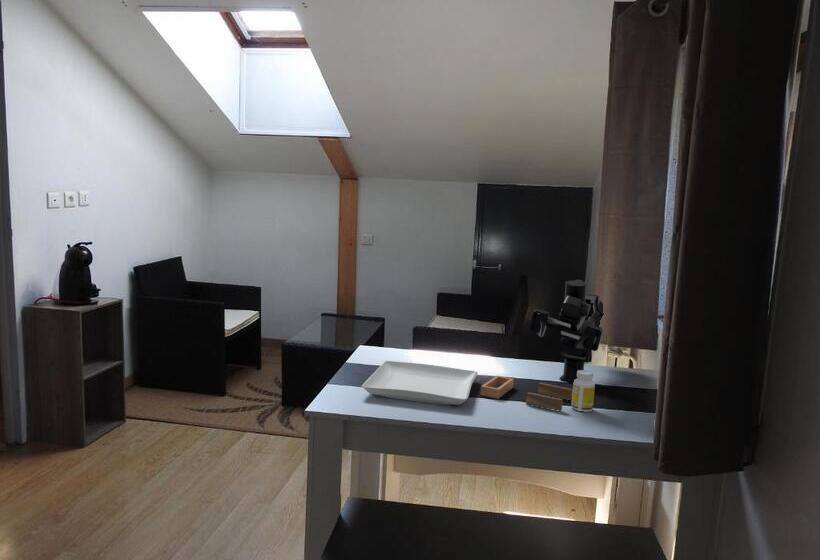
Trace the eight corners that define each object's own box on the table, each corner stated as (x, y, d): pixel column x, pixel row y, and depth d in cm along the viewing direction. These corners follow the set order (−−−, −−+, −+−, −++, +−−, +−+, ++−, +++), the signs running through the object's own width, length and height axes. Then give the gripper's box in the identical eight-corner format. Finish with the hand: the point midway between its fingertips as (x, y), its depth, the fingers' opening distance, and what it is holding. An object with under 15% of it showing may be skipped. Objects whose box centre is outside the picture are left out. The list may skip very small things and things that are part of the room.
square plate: (466, 413, 159) (467, 398, 158) (359, 399, 164) (359, 385, 164) (477, 381, 185) (478, 368, 185) (384, 371, 190) (385, 358, 190)
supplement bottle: (595, 408, 167) (598, 371, 165) (589, 414, 162) (593, 376, 161) (574, 403, 169) (577, 367, 168) (568, 409, 165) (571, 372, 163)
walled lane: (538, 393, 177) (539, 382, 176) (571, 399, 173) (572, 389, 172) (525, 404, 167) (526, 393, 166) (560, 411, 163) (561, 400, 162)
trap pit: (496, 384, 183) (496, 375, 182) (513, 387, 180) (513, 378, 180) (480, 395, 172) (481, 386, 172) (498, 398, 170) (498, 389, 169)
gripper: (545, 284, 180) (529, 302, 167) (612, 303, 173) (601, 323, 160) (537, 320, 184) (521, 340, 171) (602, 340, 177) (591, 362, 164)
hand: (558, 340), depth 166 cm, fingers open, 9 cm apart
